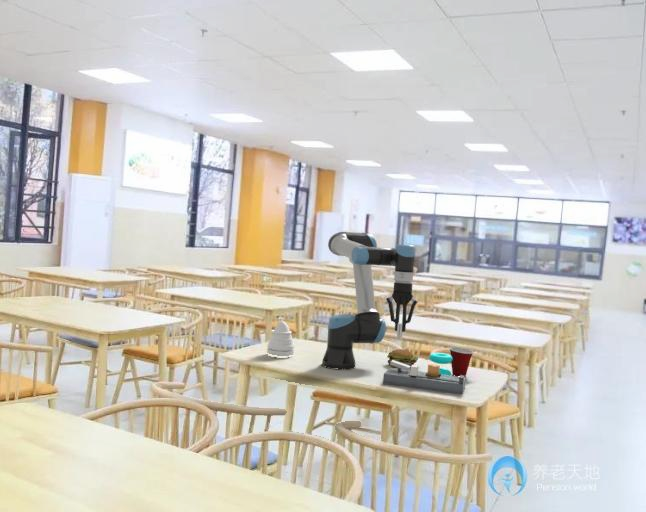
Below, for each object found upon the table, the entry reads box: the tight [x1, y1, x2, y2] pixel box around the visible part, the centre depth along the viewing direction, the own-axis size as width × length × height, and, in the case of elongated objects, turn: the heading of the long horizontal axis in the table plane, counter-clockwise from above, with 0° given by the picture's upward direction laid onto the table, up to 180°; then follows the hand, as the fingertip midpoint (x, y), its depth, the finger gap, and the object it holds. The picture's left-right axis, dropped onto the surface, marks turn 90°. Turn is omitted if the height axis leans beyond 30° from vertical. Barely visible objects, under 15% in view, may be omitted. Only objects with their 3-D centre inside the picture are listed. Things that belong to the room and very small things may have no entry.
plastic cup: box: [449, 346, 474, 377], centre depth 269 cm, size 11×11×12 cm
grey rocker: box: [390, 360, 411, 371], centre depth 254 cm, size 8×4×2 cm, turn 73°
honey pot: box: [266, 317, 295, 356], centre depth 288 cm, size 13×13×18 cm
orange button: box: [427, 363, 441, 377], centre depth 249 cm, size 5×5×5 cm
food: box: [386, 348, 419, 369], centre depth 282 cm, size 14×14×8 cm
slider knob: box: [410, 364, 419, 376], centre depth 245 cm, size 2×4×4 cm, turn 162°
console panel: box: [382, 367, 467, 395], centre depth 248 cm, size 32×13×6 cm, turn 72°
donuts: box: [429, 352, 453, 376], centre depth 264 cm, size 10×10×10 cm
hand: (399, 339), depth 247 cm, fingers closed
